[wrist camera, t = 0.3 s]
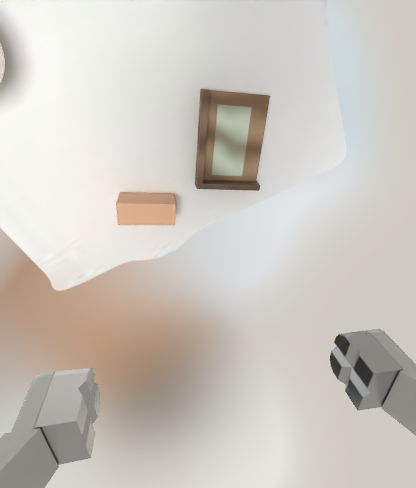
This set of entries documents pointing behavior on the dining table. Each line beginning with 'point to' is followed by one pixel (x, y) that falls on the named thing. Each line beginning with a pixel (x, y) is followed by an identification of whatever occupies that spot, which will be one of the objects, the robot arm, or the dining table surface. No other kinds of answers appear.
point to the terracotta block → (146, 209)
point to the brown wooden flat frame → (230, 139)
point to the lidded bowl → (2, 63)
